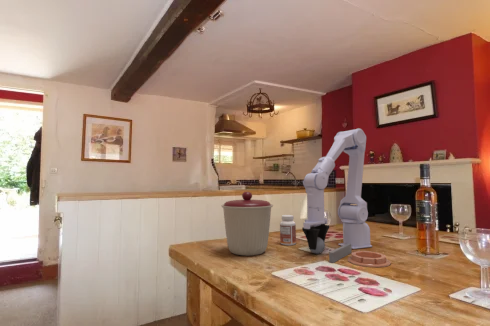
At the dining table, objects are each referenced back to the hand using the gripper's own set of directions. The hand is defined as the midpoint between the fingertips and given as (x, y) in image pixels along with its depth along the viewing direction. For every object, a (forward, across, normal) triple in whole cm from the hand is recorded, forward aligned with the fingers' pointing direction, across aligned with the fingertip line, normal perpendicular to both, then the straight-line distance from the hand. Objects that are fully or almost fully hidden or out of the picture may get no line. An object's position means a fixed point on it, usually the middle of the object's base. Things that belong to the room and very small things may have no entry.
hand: (316, 247), depth 100 cm
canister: (+2, +13, -20) cm, 24 cm away
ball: (-1, 0, 0) cm, 1 cm away
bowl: (+2, 0, +17) cm, 17 cm away
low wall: (+2, 0, +8) cm, 9 cm away
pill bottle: (+2, -7, -16) cm, 17 cm away
